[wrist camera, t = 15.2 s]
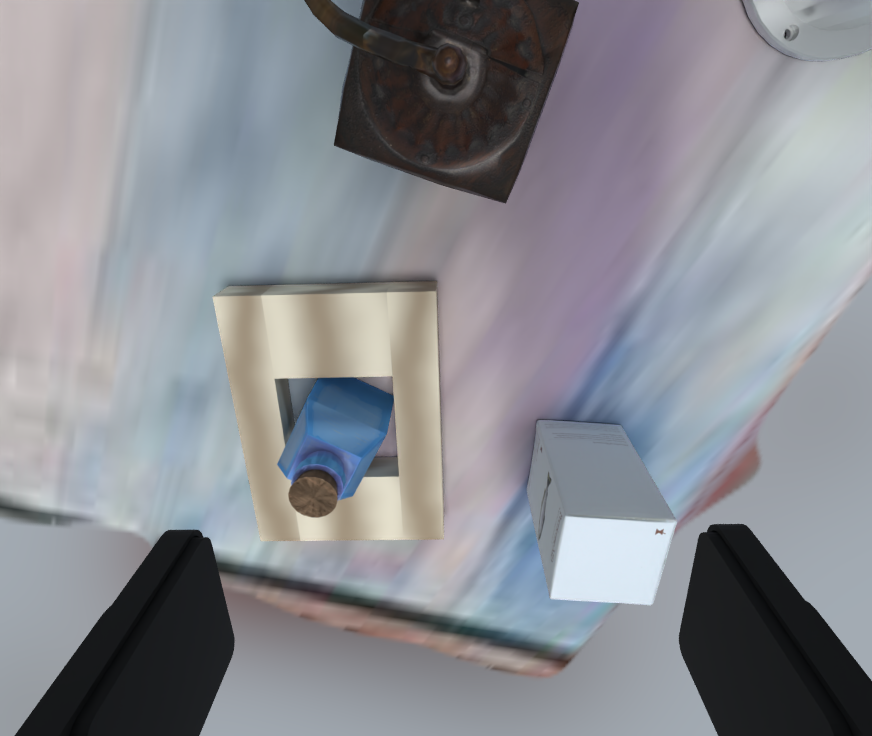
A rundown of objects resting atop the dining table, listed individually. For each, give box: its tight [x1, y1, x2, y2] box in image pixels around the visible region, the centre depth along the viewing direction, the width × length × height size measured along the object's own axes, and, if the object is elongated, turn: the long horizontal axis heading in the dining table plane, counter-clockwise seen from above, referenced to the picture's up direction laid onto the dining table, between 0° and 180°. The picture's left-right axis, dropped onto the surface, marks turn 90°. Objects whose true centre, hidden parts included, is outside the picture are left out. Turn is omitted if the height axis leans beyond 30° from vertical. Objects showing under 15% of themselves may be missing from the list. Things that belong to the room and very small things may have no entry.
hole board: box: [213, 281, 444, 541], centre depth 44 cm, size 16×22×3 cm
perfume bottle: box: [277, 377, 394, 518], centre depth 40 cm, size 6×6×12 cm
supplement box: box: [527, 420, 677, 605], centre depth 41 cm, size 7×7×13 cm
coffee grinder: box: [304, 0, 579, 203], centre depth 27 cm, size 16×11×18 cm
